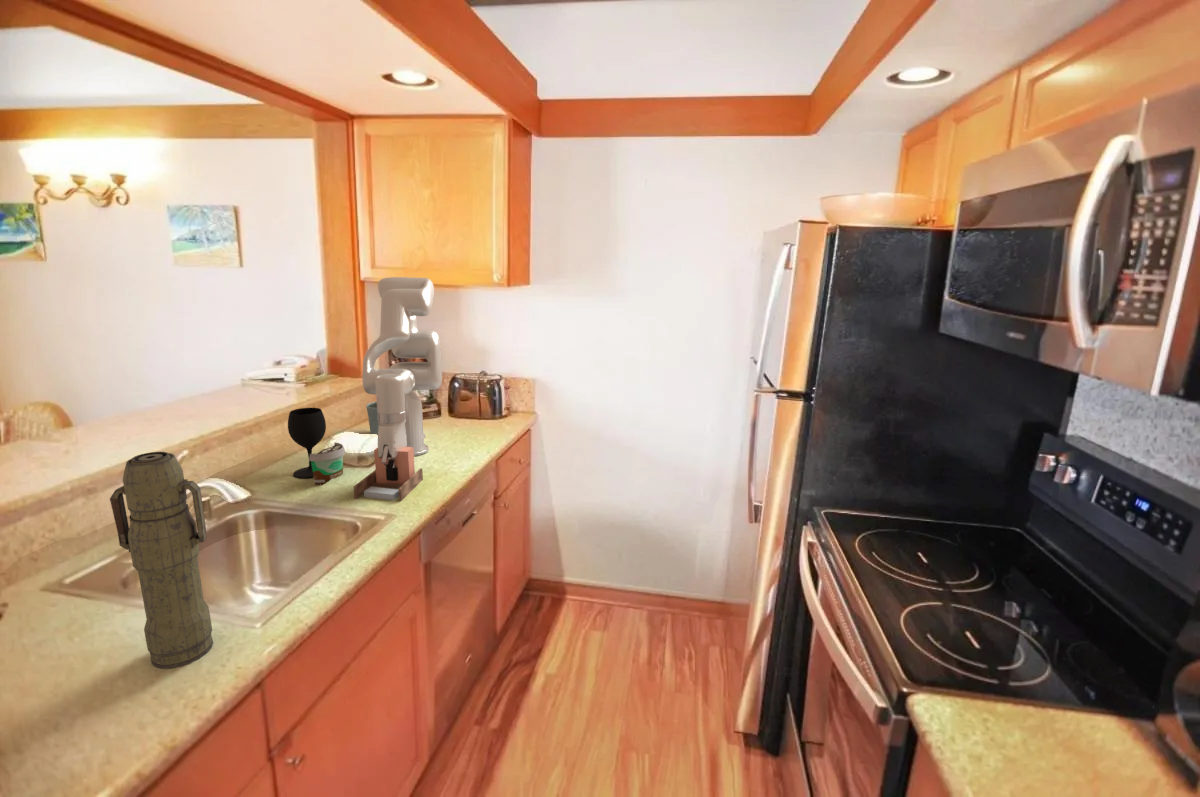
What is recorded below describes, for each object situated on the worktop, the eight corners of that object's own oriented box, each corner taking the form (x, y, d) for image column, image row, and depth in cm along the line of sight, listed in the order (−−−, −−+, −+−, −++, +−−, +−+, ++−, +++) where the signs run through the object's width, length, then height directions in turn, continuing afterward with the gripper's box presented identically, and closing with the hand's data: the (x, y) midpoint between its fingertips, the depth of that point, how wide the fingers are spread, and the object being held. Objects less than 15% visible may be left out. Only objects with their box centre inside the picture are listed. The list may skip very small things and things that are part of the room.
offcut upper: (371, 492, 163) (371, 486, 162) (400, 495, 161) (400, 489, 160) (364, 497, 159) (363, 491, 159) (393, 500, 157) (392, 494, 157)
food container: (330, 488, 168) (327, 456, 166) (311, 486, 169) (308, 454, 167) (355, 474, 180) (353, 443, 178) (338, 472, 181) (335, 441, 179)
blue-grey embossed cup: (393, 429, 227) (391, 400, 225) (399, 436, 219) (397, 405, 216) (366, 433, 222) (363, 402, 219) (371, 440, 214) (369, 408, 211)
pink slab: (382, 483, 172) (380, 445, 169) (415, 485, 171) (413, 447, 168) (376, 489, 168) (374, 450, 165) (410, 490, 167) (408, 451, 165)
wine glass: (308, 465, 186) (302, 405, 181) (337, 468, 184) (331, 408, 179) (285, 477, 176) (278, 414, 172) (315, 480, 174) (308, 416, 170)
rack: (380, 482, 174) (379, 466, 173) (423, 484, 173) (422, 468, 172) (354, 503, 158) (353, 486, 157) (401, 506, 157) (400, 488, 156)
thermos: (149, 643, 100) (114, 451, 92) (228, 629, 104) (201, 444, 96) (130, 676, 92) (90, 470, 84) (216, 660, 96) (186, 461, 88)
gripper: (391, 409, 173) (395, 466, 177) (365, 424, 157) (370, 487, 161) (415, 410, 172) (418, 467, 177) (392, 426, 156) (396, 488, 161)
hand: (395, 476), depth 169 cm, fingers closed on pink slab, 4 cm apart
